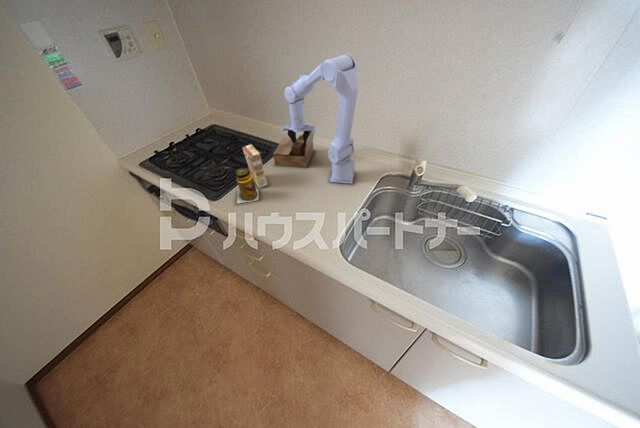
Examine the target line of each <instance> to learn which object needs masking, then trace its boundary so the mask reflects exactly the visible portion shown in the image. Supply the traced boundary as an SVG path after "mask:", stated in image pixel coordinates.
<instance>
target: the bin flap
mask: <svg viewBox="0 0 640 428" xmlns="http://www.w3.org/2000/svg"><path fill="white" fill-rule="evenodd" d="M313 127H315V128H316V126H315V125H313ZM314 134H315V132H314V133H312V132H310V134H309V137H308V139H307V140H306V149H305V156H306V154H307V152H308V150H309V148H310V145H311V143H312V141H313V142H314V136H315V135H314Z"/></svg>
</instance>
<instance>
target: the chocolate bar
mask: <svg viewBox="0 0 640 428" xmlns="http://www.w3.org/2000/svg"><path fill="white" fill-rule="evenodd" d="M296 139H297V140H296V141H295V142H294V144H293V145H292V146H291V148H292V154H293V155H300V156H301V155H302V153H303V152H304V151H305V149H306V147H304V139H303V135H302V134H300V135H299V136H297V138H296Z"/></svg>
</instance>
